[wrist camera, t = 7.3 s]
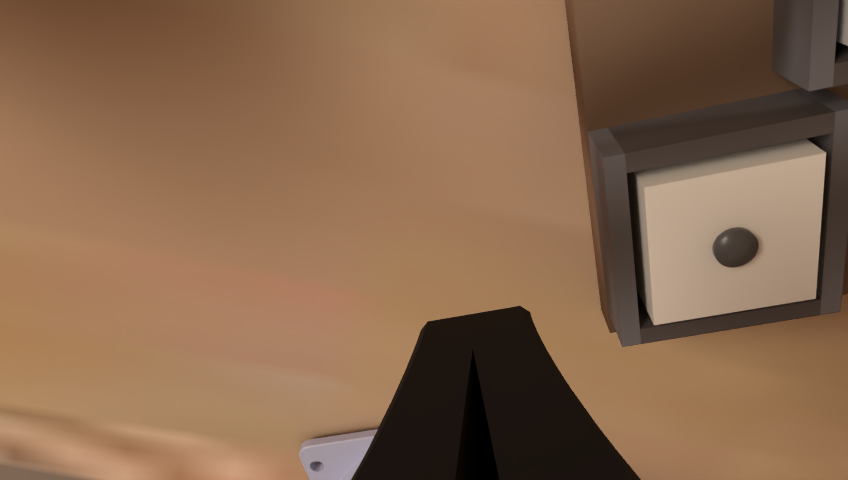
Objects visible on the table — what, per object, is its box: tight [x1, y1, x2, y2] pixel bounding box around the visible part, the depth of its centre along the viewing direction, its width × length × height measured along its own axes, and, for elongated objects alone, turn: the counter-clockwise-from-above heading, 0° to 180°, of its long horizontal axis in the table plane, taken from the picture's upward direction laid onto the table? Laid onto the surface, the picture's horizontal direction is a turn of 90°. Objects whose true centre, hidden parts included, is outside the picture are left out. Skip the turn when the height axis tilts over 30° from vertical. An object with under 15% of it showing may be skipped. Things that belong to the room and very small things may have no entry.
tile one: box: [627, 138, 826, 325], centre depth 17 cm, size 4×4×2 cm
